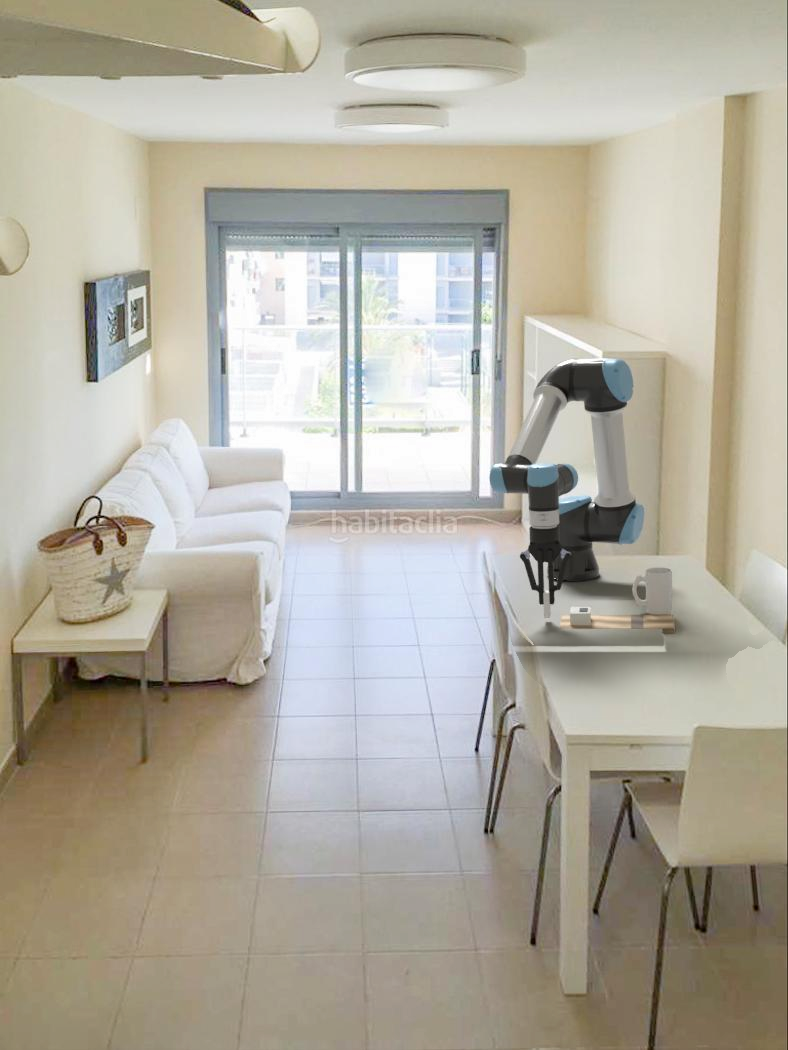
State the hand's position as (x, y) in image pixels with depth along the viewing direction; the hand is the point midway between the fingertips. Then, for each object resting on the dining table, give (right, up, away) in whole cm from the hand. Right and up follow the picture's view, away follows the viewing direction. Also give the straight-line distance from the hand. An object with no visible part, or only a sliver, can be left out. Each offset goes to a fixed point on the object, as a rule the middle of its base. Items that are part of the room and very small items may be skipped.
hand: (547, 616), depth 317 cm
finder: (+8, -1, -1) cm, 9 cm away
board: (+17, -2, -3) cm, 18 cm away
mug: (+28, 0, +4) cm, 28 cm away
